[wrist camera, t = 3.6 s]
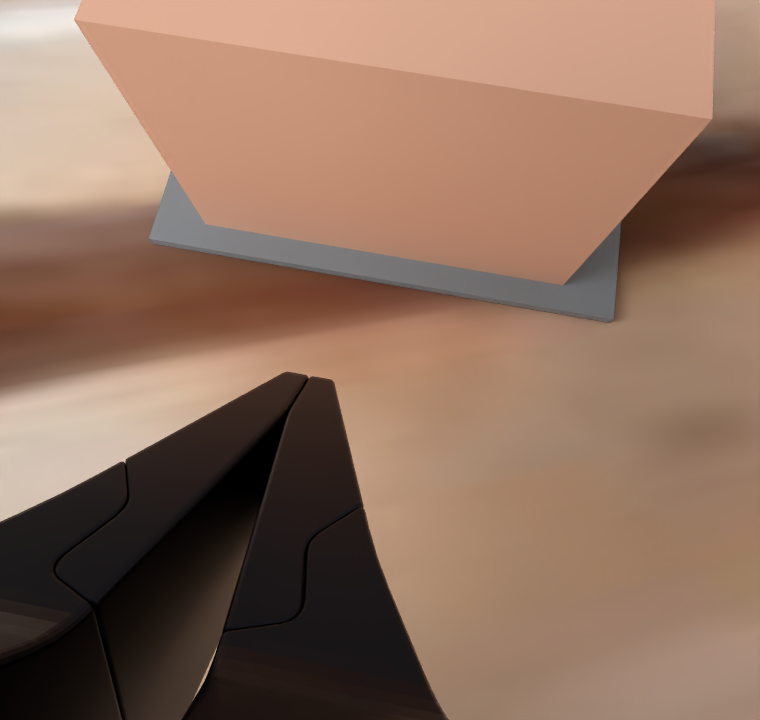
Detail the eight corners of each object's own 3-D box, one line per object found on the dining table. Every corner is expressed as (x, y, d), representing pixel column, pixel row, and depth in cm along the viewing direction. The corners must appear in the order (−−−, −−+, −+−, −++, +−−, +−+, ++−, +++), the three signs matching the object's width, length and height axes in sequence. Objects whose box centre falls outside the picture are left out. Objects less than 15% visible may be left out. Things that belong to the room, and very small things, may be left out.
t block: (562, 285, 20) (712, 119, 11) (205, 224, 20) (73, 19, 11) (590, 15, 23) (723, -281, 14) (281, -31, 23) (223, -344, 15)
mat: (608, 322, 20) (613, 319, 19) (153, 243, 20) (148, 238, 20) (642, -116, 25) (647, -126, 25) (284, -165, 26) (283, -175, 26)
